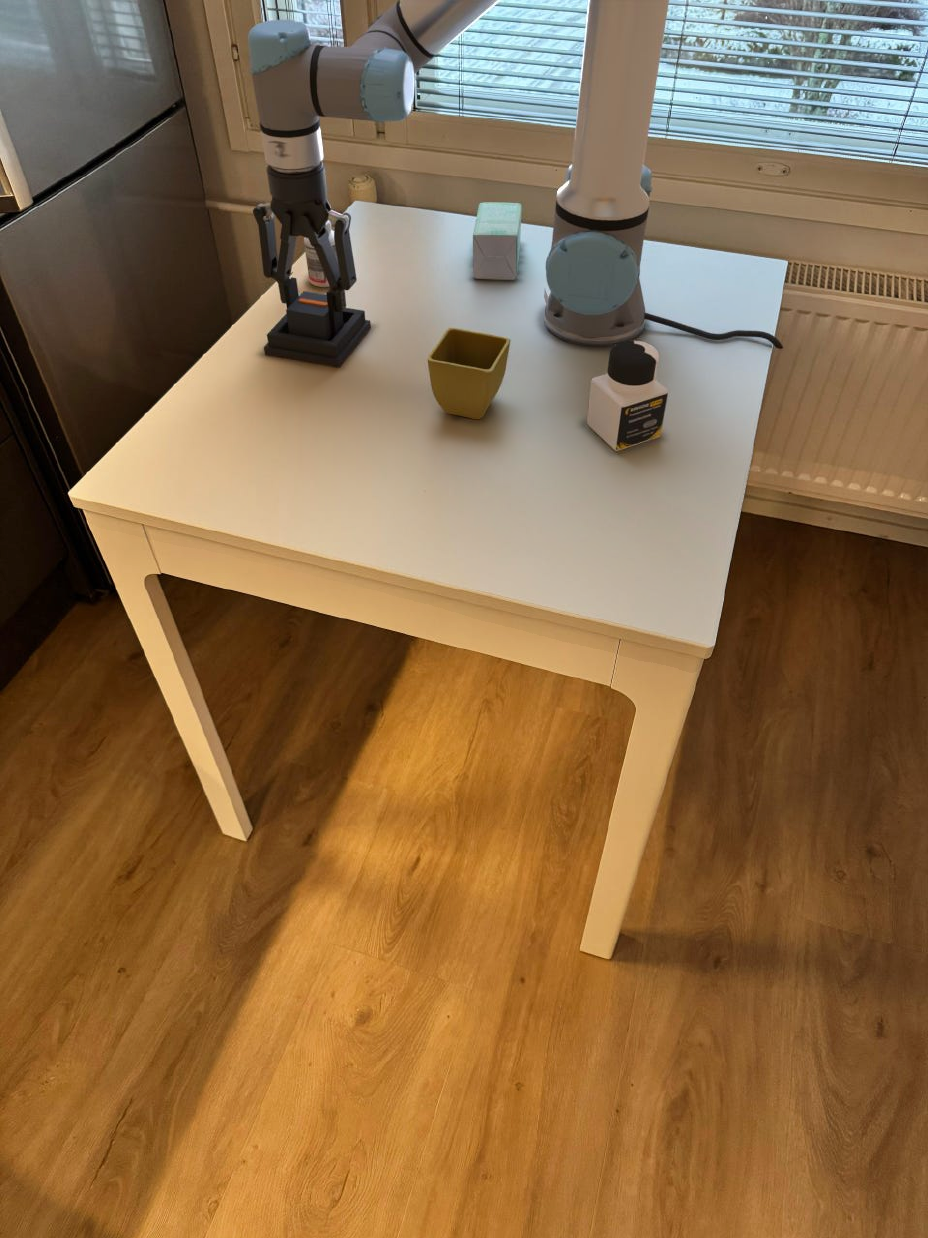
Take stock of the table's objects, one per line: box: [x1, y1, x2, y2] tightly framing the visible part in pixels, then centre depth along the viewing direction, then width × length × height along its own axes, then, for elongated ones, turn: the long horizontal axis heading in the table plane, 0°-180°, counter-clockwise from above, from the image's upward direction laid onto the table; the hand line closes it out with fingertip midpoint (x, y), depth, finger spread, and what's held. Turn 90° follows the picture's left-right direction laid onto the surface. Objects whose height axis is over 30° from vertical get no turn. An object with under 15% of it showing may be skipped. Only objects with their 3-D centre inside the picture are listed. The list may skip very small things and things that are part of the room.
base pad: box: [263, 307, 372, 368], centre depth 136 cm, size 12×12×3 cm
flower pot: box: [426, 327, 511, 420], centre depth 121 cm, size 9×9×9 cm
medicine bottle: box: [586, 340, 669, 452], centre depth 116 cm, size 7×7×12 cm
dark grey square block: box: [285, 290, 343, 341], centre depth 134 cm, size 6×6×4 cm
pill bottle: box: [303, 220, 338, 288], centre depth 146 cm, size 5×5×10 cm
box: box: [472, 201, 523, 281], centre depth 151 cm, size 7×14×8 cm, turn 175°
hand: (316, 326), depth 135 cm, fingers closed on dark grey square block, 6 cm apart
